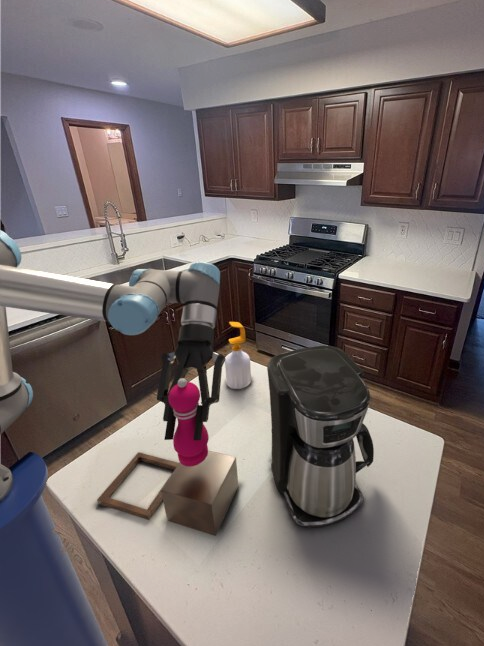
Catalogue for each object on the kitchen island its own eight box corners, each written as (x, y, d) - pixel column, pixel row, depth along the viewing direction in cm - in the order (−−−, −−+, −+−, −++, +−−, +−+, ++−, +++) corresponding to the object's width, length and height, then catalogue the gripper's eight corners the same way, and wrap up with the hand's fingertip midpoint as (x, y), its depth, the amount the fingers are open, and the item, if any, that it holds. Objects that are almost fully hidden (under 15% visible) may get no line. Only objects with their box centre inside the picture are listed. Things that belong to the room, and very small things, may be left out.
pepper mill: (210, 465, 66) (200, 388, 58) (174, 472, 64) (159, 393, 56) (210, 439, 72) (201, 366, 64) (177, 444, 71) (164, 370, 63)
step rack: (98, 504, 73) (87, 473, 69) (139, 456, 86) (132, 428, 82) (213, 541, 66) (209, 509, 62) (240, 482, 78) (237, 453, 75)
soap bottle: (223, 378, 118) (218, 320, 109) (246, 372, 122) (242, 315, 113) (231, 392, 111) (226, 331, 101) (254, 385, 115) (252, 325, 105)
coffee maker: (321, 553, 64) (330, 427, 51) (232, 457, 86) (222, 351, 72) (380, 484, 78) (400, 371, 65) (291, 416, 100) (292, 322, 87)
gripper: (240, 332, 74) (231, 440, 65) (164, 332, 74) (146, 438, 65) (234, 322, 67) (224, 441, 58) (151, 321, 67) (128, 439, 58)
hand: (183, 439), depth 62 cm, fingers closed on pepper mill, 5 cm apart
